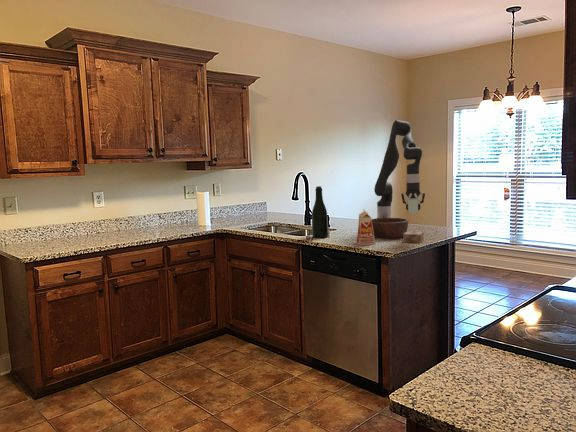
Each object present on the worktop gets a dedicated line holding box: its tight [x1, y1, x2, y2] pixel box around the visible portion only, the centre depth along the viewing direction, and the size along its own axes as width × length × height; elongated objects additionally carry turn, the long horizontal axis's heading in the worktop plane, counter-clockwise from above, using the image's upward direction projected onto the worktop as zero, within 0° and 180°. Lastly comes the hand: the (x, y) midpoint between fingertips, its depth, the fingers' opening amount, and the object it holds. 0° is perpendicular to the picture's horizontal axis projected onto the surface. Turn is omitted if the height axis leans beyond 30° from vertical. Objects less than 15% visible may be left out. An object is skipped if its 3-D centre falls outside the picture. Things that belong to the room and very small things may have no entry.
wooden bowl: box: [371, 217, 409, 239], centre depth 306 cm, size 25×25×10 cm
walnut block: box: [402, 230, 424, 244], centre depth 285 cm, size 10×10×5 cm
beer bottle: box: [311, 185, 329, 239], centre depth 311 cm, size 10×10×33 cm
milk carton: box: [355, 208, 375, 246], centre depth 282 cm, size 9×9×20 cm
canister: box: [407, 197, 419, 215], centre depth 283 cm, size 6×6×9 cm
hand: (413, 210), depth 284 cm, fingers closed on canister, 5 cm apart
